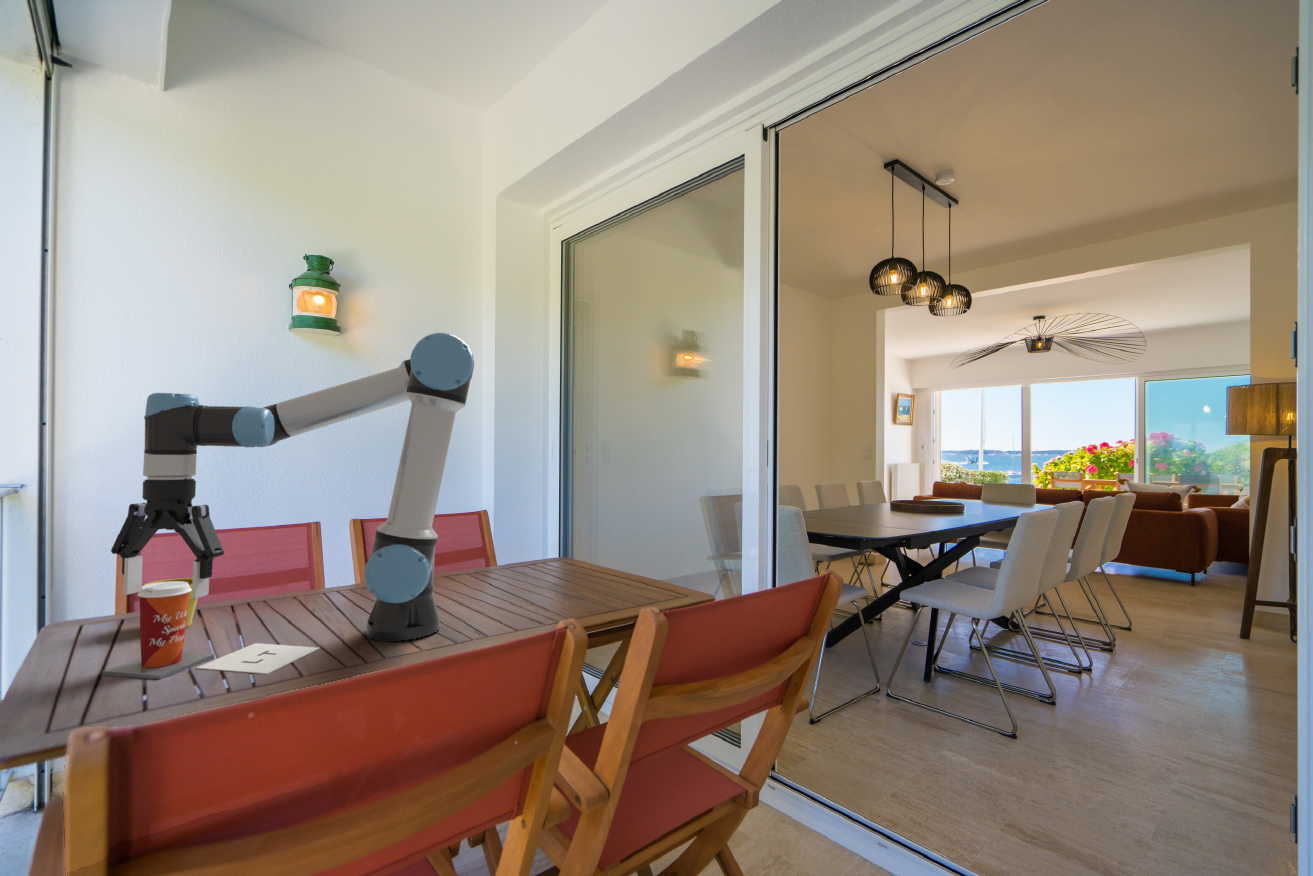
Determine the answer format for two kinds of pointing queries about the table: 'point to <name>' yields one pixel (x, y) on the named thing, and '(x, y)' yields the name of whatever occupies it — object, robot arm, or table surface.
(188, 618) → the plant pot
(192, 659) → the slate coaster
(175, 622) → the paper cup
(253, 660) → the tile
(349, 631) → the table surface
